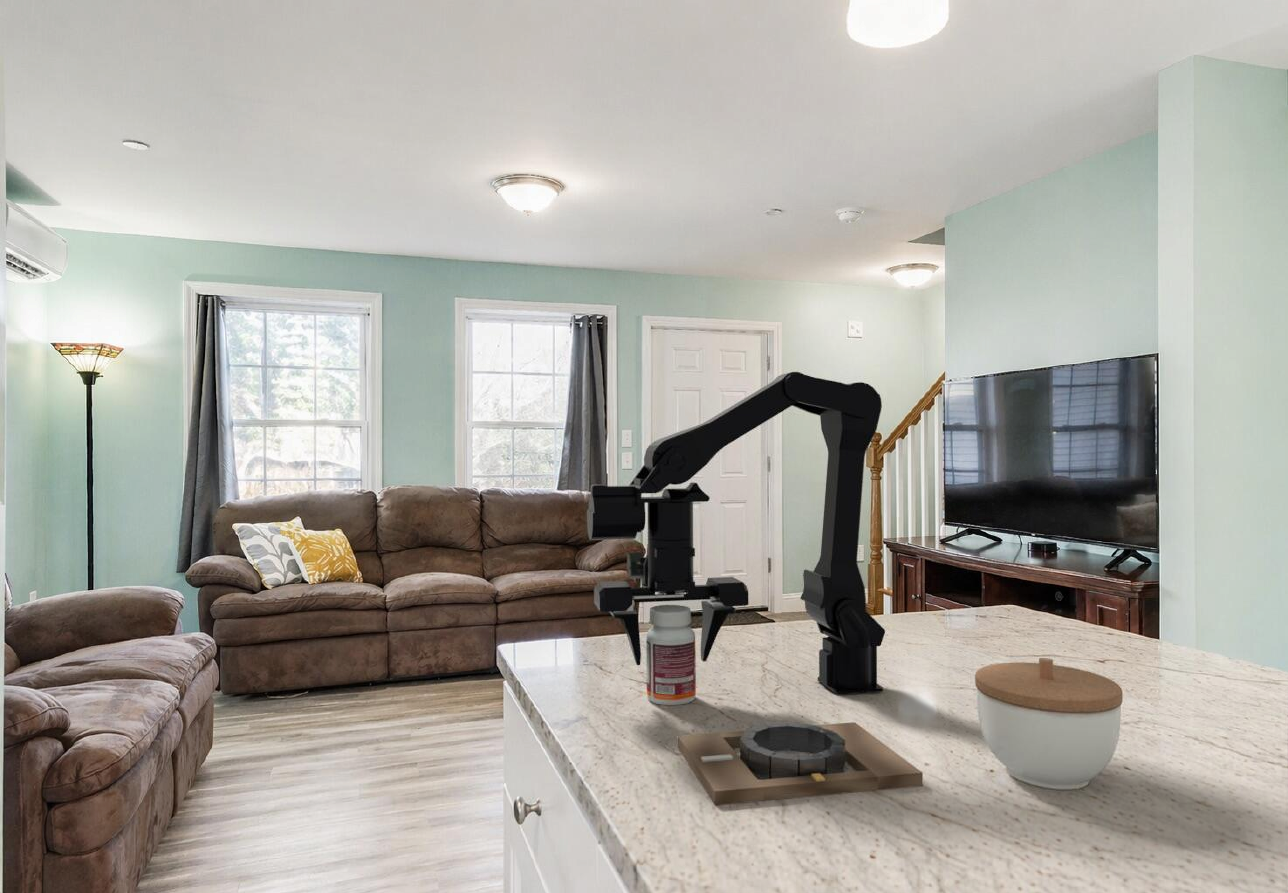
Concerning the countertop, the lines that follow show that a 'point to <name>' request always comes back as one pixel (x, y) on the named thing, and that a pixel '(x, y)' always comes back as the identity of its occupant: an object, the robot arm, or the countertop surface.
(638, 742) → the countertop surface
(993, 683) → the lidded bowl
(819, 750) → the socket board
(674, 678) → the pill bottle
